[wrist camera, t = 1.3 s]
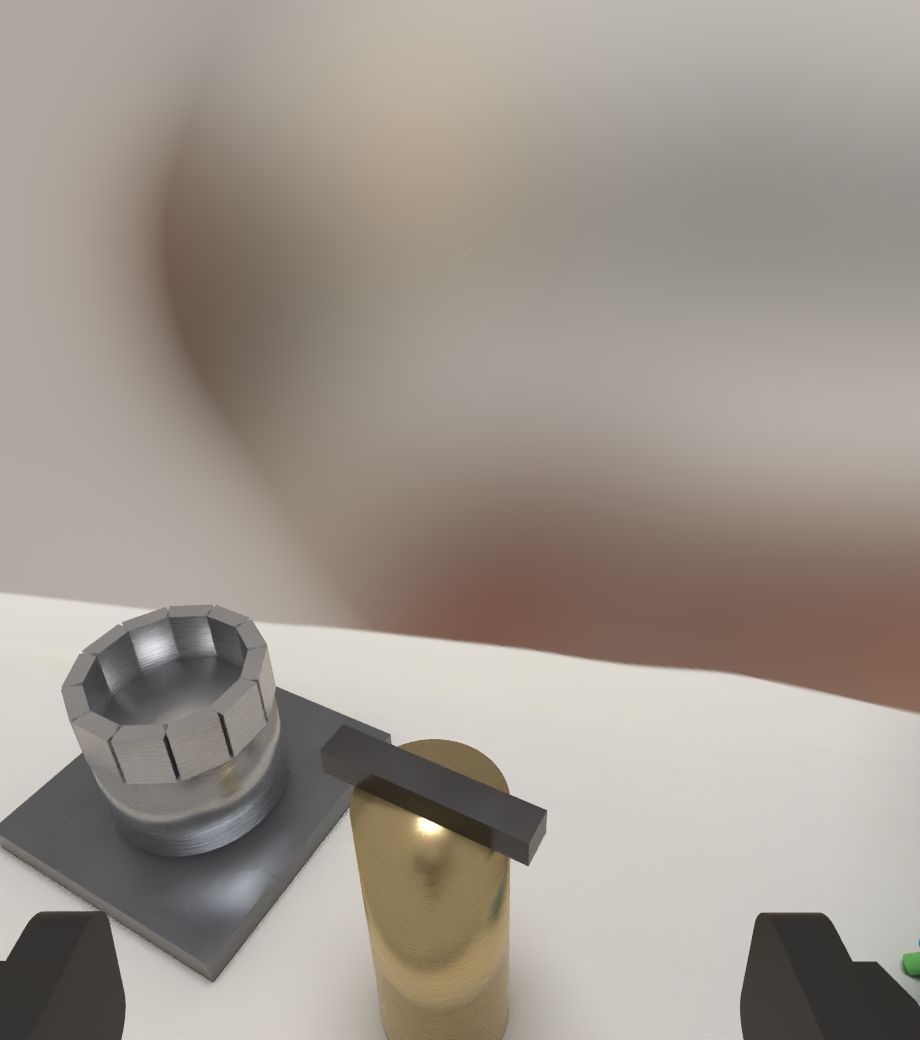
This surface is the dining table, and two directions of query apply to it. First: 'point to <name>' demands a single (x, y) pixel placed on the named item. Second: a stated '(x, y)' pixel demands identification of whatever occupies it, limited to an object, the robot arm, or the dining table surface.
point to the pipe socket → (184, 783)
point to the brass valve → (435, 879)
